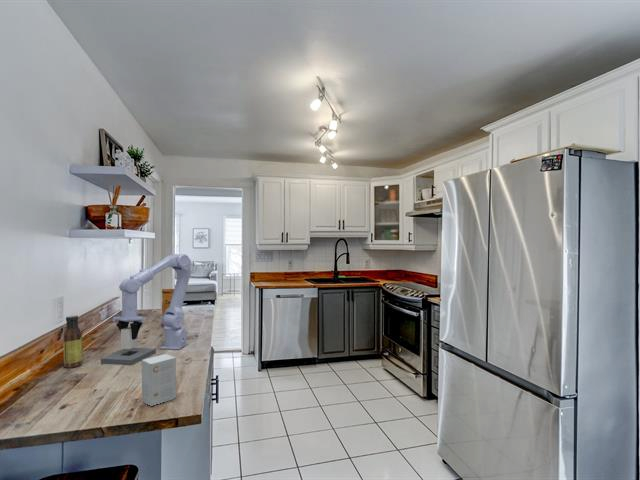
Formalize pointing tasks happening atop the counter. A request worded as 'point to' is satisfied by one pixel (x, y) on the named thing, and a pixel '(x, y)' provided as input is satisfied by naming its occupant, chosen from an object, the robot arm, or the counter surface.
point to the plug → (128, 339)
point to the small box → (158, 379)
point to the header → (128, 356)
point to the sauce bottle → (72, 343)
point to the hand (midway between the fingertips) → (129, 338)
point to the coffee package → (166, 299)
